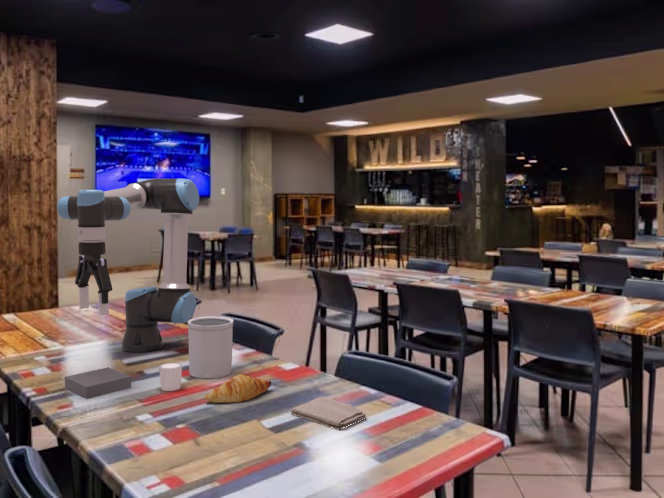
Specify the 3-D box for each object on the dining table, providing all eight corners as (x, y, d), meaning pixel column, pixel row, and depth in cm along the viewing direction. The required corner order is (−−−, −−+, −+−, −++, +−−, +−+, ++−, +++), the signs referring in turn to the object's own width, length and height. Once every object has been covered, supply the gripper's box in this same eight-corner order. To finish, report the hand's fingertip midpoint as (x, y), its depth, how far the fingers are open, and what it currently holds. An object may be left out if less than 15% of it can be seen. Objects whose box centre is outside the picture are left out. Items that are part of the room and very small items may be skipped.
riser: (108, 379, 192) (108, 367, 192) (131, 389, 183) (131, 376, 182) (64, 389, 182) (64, 376, 181) (86, 400, 172) (86, 387, 172)
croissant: (209, 419, 167) (215, 398, 163) (195, 394, 174) (200, 373, 170) (275, 402, 180) (281, 382, 176) (259, 379, 186) (265, 360, 183)
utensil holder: (242, 369, 202) (242, 318, 201) (216, 382, 189) (215, 327, 187) (206, 364, 209) (206, 314, 207) (178, 375, 195) (177, 322, 194)
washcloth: (340, 433, 150) (341, 421, 150) (288, 416, 161) (288, 405, 161) (368, 420, 159) (369, 408, 159) (317, 404, 170) (317, 394, 170)
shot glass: (176, 392, 179) (175, 369, 178) (155, 390, 180) (154, 367, 179) (186, 385, 185) (186, 363, 185) (165, 383, 187) (165, 361, 186)
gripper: (62, 239, 186) (64, 307, 188) (98, 244, 169) (99, 318, 170) (86, 238, 191) (88, 304, 193) (123, 243, 174) (124, 315, 176)
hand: (93, 311), depth 182 cm, fingers open, 13 cm apart
